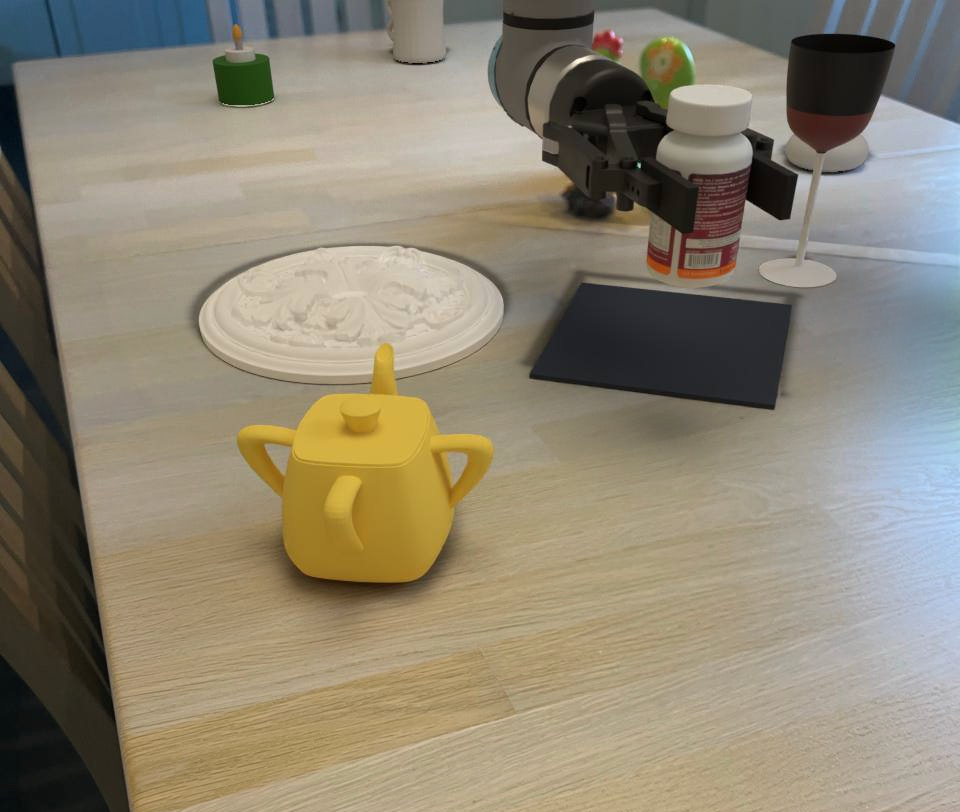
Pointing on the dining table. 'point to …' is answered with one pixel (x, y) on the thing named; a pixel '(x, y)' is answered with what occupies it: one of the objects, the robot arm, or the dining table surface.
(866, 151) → the donut
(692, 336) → the mat
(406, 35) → the mug
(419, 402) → the teapot
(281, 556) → the dining table surface
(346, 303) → the ceiling medallion
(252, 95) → the candle
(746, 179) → the pill bottle
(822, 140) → the wineglass
